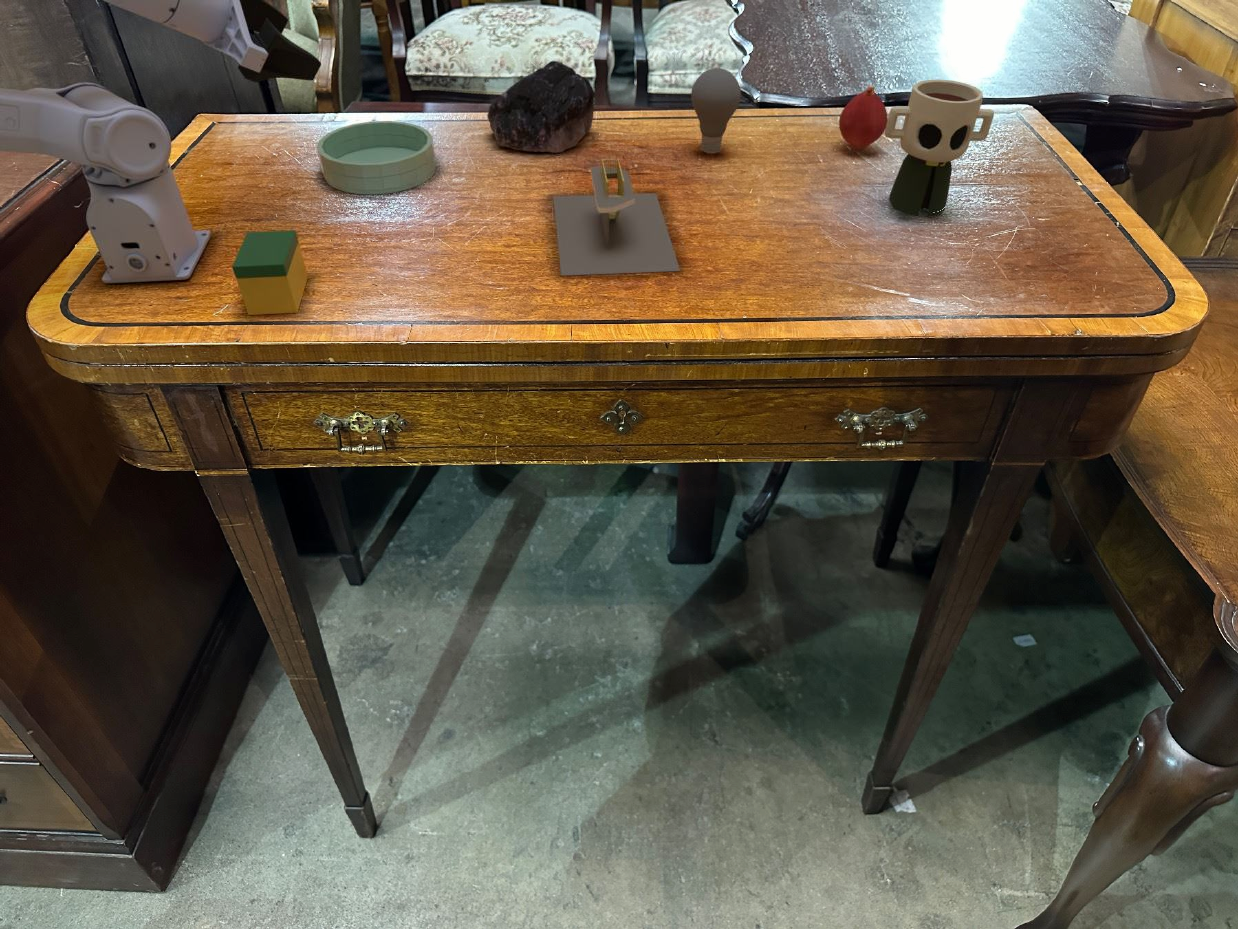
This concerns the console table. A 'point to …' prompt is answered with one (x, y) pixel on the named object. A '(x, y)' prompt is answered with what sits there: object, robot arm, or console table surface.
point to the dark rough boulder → (544, 110)
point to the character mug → (934, 141)
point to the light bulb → (715, 105)
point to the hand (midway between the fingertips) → (299, 48)
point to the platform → (612, 229)
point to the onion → (863, 120)
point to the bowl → (377, 157)
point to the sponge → (271, 272)
